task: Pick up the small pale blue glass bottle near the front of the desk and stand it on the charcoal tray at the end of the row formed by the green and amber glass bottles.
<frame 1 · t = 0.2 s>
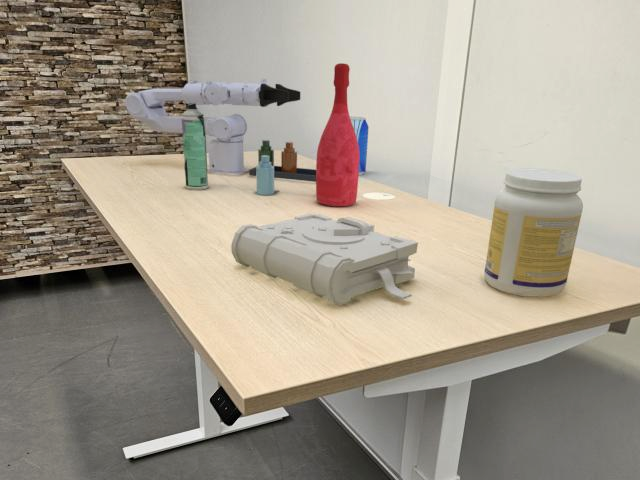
hand: (294, 95, 151), 22 cm above the table, tool horizontal, fingers open, 7 cm apart
supplement tub: (522, 286, 89), on the table
book: (333, 278, 89), on the table
wine bottle: (336, 203, 136), on the table
tray: (290, 177, 162), on the table
blue bottle: (265, 193, 142), on the table
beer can: (351, 175, 170), on the table
bottle row: (290, 175, 162), resting on tray
spray can: (197, 188, 146), on the table
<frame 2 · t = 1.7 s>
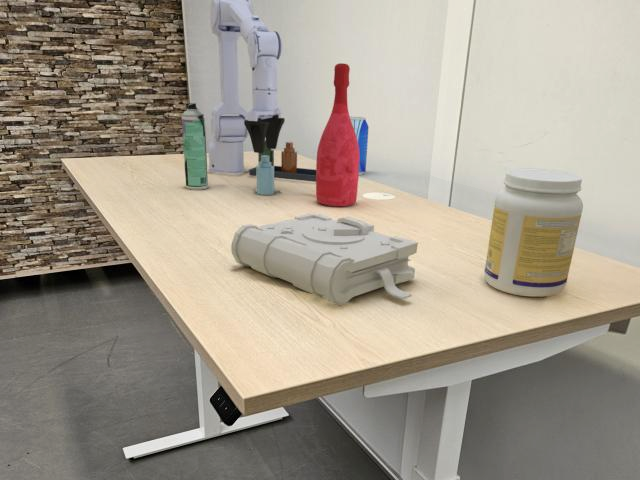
hand: (265, 150, 138), 10 cm above the table, tool pointing down, fingers open, 7 cm apart
nothing on the table moved.
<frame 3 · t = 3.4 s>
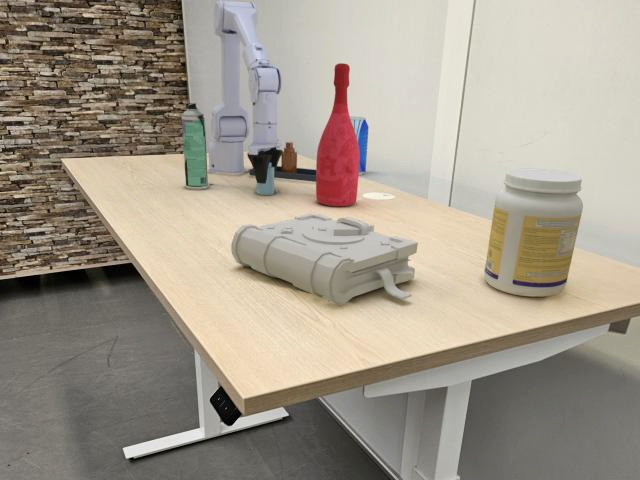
hand: (265, 181, 141), 3 cm above the table, tool pointing down, fingers closed on blue bottle, 4 cm apart
blue bottle: (265, 193, 143), on the table, touching gripper
everything else where it was.
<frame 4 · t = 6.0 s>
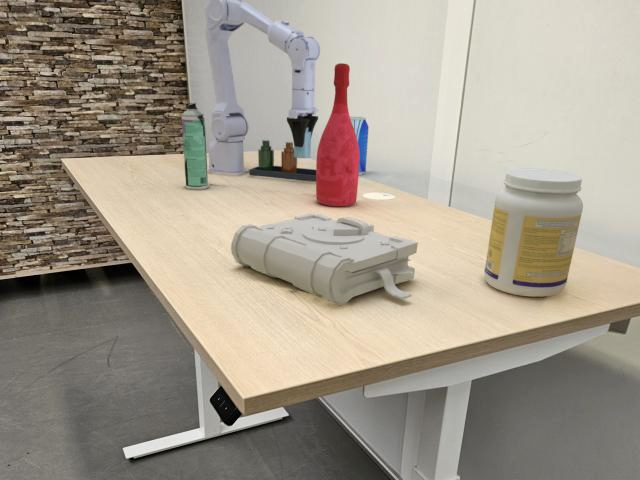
hand: (302, 145, 151), 10 cm above the table, tool pointing down, fingers closed on blue bottle, 4 cm apart
blue bottle: (302, 157, 152), point 7 cm above the table, touching gripper
everything else where it was.
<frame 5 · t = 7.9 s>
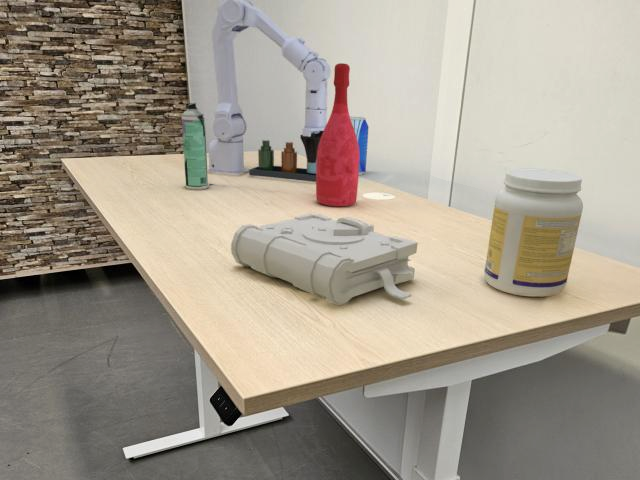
hand: (314, 161, 158), 5 cm above the table, tool pointing down, fingers closed on blue bottle, 4 cm apart
blue bottle: (314, 172, 159), point 2 cm above the table, touching gripper
everything else where it was.
when the fingers open (3 cm above the table, at t = 8.9 s): blue bottle stays where it is, resting on tray.
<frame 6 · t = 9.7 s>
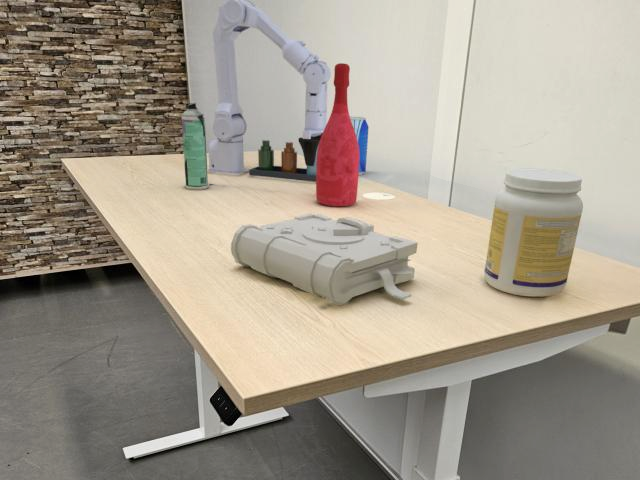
hand: (314, 163, 158), 4 cm above the table, tool pointing down, fingers open, 7 cm apart
blue bottle: (314, 178, 160), point 1 cm above the table, touching tray
everything else where it was.
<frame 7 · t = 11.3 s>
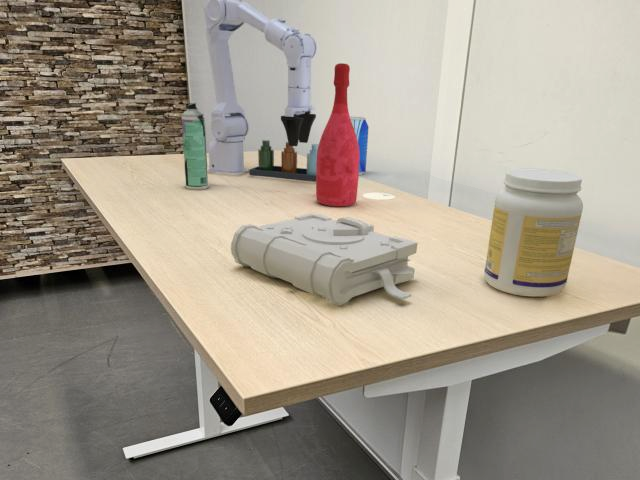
hand: (298, 144, 149), 10 cm above the table, tool pointing down, fingers open, 7 cm apart
nothing on the table moved.
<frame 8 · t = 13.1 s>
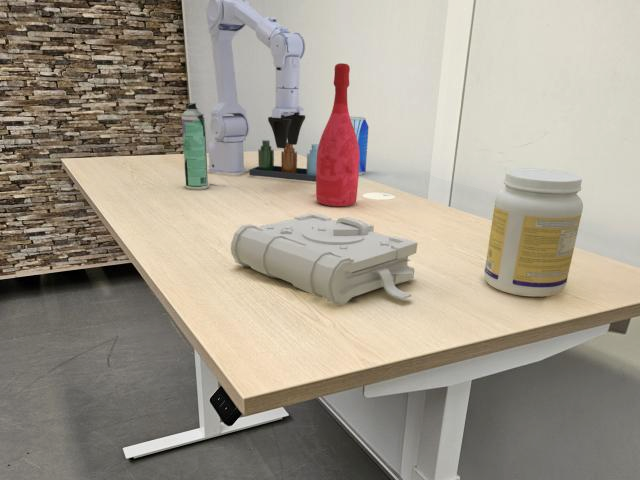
hand: (286, 146, 145), 10 cm above the table, tool pointing down, fingers open, 7 cm apart
nothing on the table moved.
at the end: blue bottle 0.1 cm from the target spot in the tray, point 0.6 cm above the tray's base; blue bottle tilted 0°; the gripper is holding nothing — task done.
